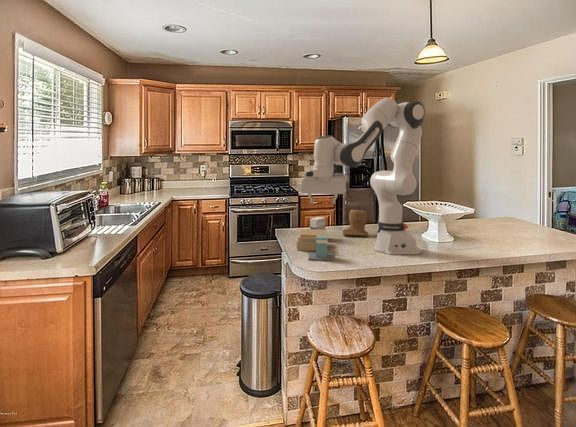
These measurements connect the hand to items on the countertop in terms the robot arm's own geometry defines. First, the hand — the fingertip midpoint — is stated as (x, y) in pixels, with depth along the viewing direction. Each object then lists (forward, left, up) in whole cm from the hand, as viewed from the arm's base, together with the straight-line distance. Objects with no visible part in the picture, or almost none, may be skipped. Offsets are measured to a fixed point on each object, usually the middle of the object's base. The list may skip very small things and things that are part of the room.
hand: (322, 203), depth 174 cm
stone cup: (-18, -49, -25) cm, 58 cm away
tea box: (0, 0, -24) cm, 24 cm away
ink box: (+3, -36, -25) cm, 44 cm away
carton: (+5, -18, -25) cm, 31 cm away
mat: (0, 0, -25) cm, 25 cm away
